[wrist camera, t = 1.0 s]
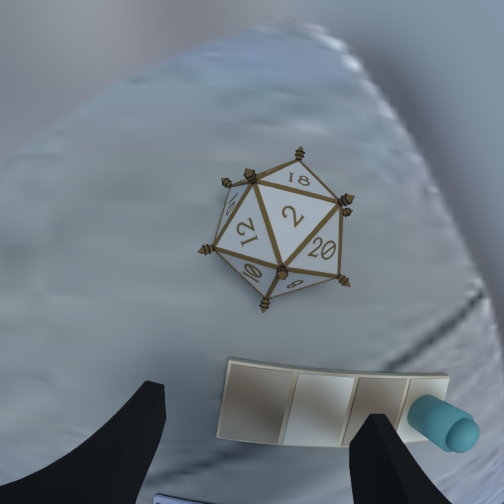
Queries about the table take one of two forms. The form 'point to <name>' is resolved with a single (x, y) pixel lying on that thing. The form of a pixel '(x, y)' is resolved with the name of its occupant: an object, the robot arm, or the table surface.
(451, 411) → the pawn
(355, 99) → the table surface
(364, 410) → the board
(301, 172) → the game die
